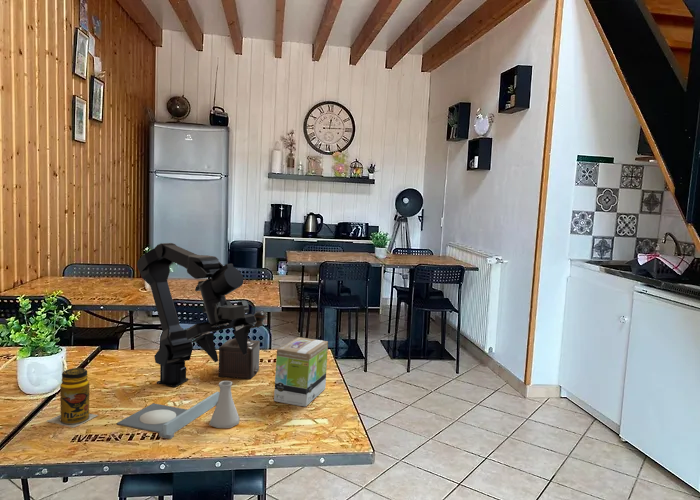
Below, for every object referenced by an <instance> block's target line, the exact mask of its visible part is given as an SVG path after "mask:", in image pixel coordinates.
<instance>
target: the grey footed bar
mask: <svg viewBox="0 0 700 500" xmlns="http://www.w3.org/2000/svg"><path fill="white" fill-rule="evenodd" d="M219 393H220V391H216V392H214V393H212V394H211V395H209V396H207V397H206V398H204V399H203V400H201V401H199V402H197V403H196V404H195V405H193V406H191V407H190V408H188V409H187V410H186V411H185V412H183V413H181V414H180V415H178V416H177V417H175V418H173V419H172V420H170V421H169V422H167V423H165V424H164V431H162V432H160V433H158V436H159V437H160V438H163V439H169V440H171V439H172V438H174V437H175V433H176V432H178V431H179V430H180V429H182V428H184V427H186V426H187V425H188V424H190V423H191V422H193V421H195V420H196V419H197V418H199V417H200V416H202V415H203V414H205V413H206V412H208V411H209V410H211V409H212V408H215V407H216V405H217V402H218V398H219Z"/></svg>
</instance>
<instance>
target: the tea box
mask: <svg viewBox="0 0 700 500" xmlns="http://www.w3.org/2000/svg"><path fill="white" fill-rule="evenodd" d="M328 347H329V341H327V340H322V339H320V340H319V339H313V338H307V337H299V336H298V337H296V338H294V339H292V340H291V341H288V342H287V343H285V344H284V345H282V346H279V348H277V349H276V357H275V358H276V362H275V373H274V374H275V376H274V393H273V401H274V402H278V403H282V404H289V405H293V406H299V407H307V406H308V405H309V404H310V403H311V402H313V400H315V398H317V397H318V396H319V395H320V394H321V393H322V392H324V390H325V389H326V383H327V382H326V381H327V366H328V365H327V364H328V352H329V351H328V350H329V348H328ZM325 391H326V390H325Z"/></svg>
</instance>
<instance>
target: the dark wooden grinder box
mask: <svg viewBox="0 0 700 500" xmlns="http://www.w3.org/2000/svg"><path fill="white" fill-rule="evenodd" d="M253 315H254V316H255V319H256V322H257V323H255V324H253V327H252V328H251V329H255V328H257V329H259V328H260V327H263V326H264V324H263V323H264V320H265V319H266V314H265V313H264V312H262V311H257V312H255V313H254V314H253ZM260 344H261V342H260V340H254V339H253V340H252V337H250V338H248V341H247V354H245V355H243V353H242V351H241V350H240V347H239V345H238V343H237V340H236V338H235V337H234V338H232V339H228V340H227V341H225V342H224V343H223V344H221V346H219V348H218V378H227V379H240V380H241V379H242V380H251V379H252V378H253V377H255V376H256V375H257V373H258V372H259V369H260V349H261V348H260V347H261V346H260Z"/></svg>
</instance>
